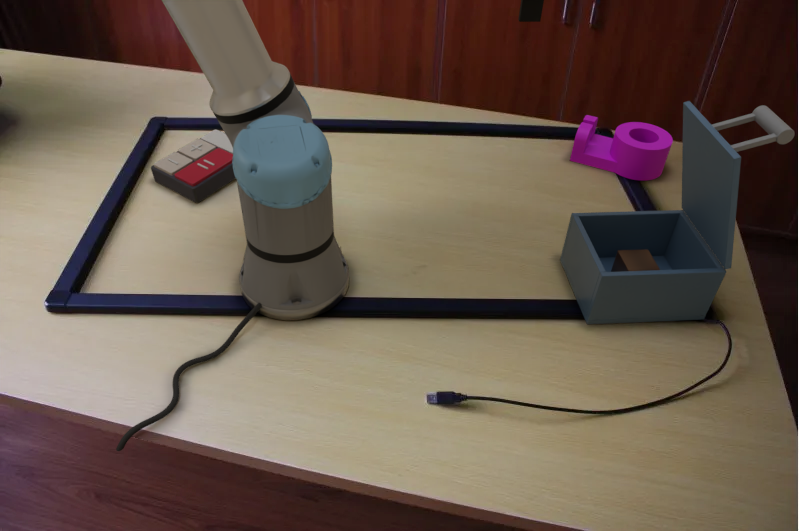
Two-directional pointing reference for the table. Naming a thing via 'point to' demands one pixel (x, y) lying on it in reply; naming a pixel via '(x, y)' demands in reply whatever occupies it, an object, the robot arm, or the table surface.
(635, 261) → the block
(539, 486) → the table surface
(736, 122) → the lid
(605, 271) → the compartment
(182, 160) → the calculator
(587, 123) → the tape dispenser
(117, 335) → the table surface
